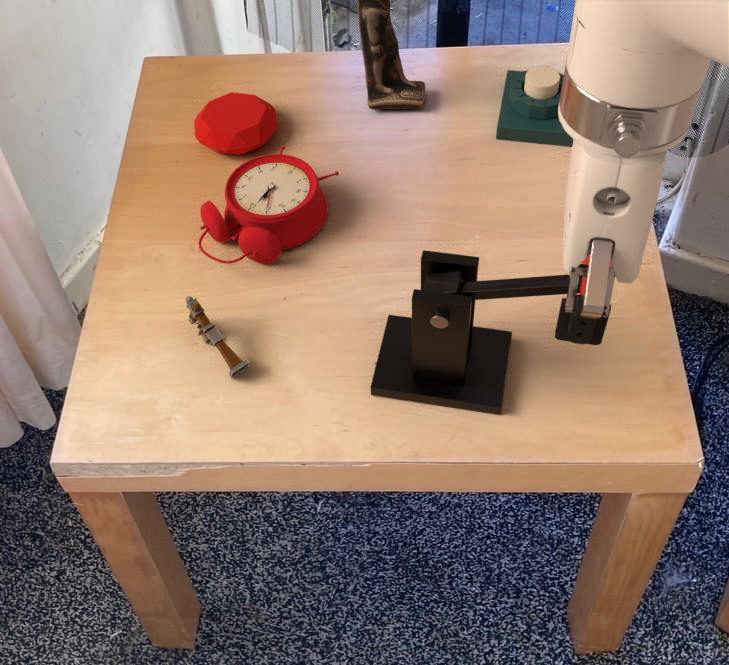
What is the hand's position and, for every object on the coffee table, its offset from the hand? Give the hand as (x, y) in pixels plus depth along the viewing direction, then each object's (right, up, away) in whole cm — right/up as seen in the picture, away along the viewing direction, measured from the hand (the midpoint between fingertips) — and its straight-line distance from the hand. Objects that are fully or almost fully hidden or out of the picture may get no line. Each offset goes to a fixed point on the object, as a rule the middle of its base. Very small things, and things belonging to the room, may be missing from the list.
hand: (581, 290), depth 62 cm
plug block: (+3, +21, +31) cm, 38 cm away
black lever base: (-9, -6, +11) cm, 16 cm away
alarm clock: (-26, +8, +23) cm, 35 cm away
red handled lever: (-5, -1, +2) cm, 5 cm away
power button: (+3, +23, +29) cm, 37 cm away
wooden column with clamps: (-29, -5, +14) cm, 33 cm away
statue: (-13, +23, +34) cm, 43 cm away
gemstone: (-30, +19, +32) cm, 47 cm away
